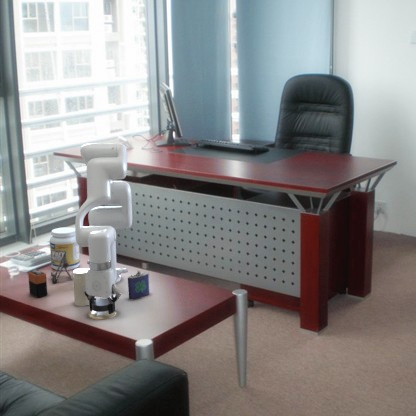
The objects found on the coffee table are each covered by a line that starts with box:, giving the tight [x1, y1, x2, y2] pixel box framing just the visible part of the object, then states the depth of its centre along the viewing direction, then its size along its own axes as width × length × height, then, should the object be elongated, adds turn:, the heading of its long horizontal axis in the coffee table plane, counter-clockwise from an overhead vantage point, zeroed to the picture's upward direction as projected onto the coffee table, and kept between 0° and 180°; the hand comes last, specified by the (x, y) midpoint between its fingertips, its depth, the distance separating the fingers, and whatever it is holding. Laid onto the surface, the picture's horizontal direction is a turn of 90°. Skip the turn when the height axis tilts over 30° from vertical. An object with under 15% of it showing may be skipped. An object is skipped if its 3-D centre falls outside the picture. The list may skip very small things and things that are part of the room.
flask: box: [127, 270, 150, 301], centre depth 263 cm, size 9×3×11 cm, turn 138°
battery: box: [27, 268, 48, 298], centre depth 263 cm, size 4×7×10 cm, turn 47°
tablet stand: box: [50, 257, 73, 284], centre depth 281 cm, size 9×8×8 cm
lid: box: [92, 298, 109, 312], centre depth 245 cm, size 7×7×2 cm
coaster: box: [87, 309, 118, 321], centre depth 246 cm, size 10×10×1 cm
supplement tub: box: [49, 226, 81, 271], centre depth 296 cm, size 12×12×17 cm
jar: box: [72, 268, 89, 307], centre depth 255 cm, size 6×6×13 cm
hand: (102, 311), depth 246 cm, fingers closed on lid, 7 cm apart
